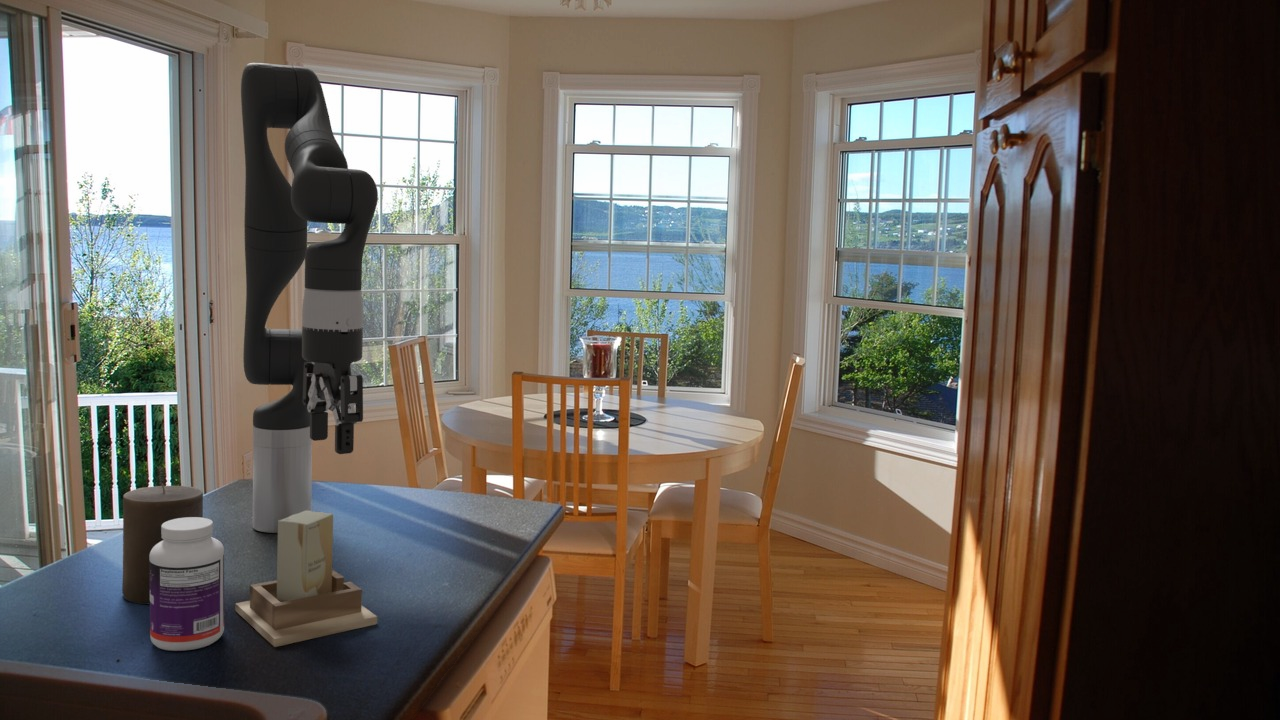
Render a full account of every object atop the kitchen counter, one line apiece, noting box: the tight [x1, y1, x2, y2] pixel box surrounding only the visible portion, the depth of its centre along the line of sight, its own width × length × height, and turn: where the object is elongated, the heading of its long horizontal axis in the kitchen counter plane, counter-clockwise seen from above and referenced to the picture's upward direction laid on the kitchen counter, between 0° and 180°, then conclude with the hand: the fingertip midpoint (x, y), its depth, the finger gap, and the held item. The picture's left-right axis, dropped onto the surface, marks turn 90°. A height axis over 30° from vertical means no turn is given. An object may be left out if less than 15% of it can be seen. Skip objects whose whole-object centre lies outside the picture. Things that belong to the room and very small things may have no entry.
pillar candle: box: [121, 483, 204, 605], centre depth 130 cm, size 10×10×15 cm
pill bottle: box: [149, 517, 225, 652], centre depth 115 cm, size 8×8×14 cm
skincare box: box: [276, 510, 334, 602], centre depth 124 cm, size 6×4×12 cm
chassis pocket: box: [234, 569, 378, 648], centre depth 124 cm, size 14×13×4 cm
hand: (331, 446), depth 128 cm, fingers open, 8 cm apart
